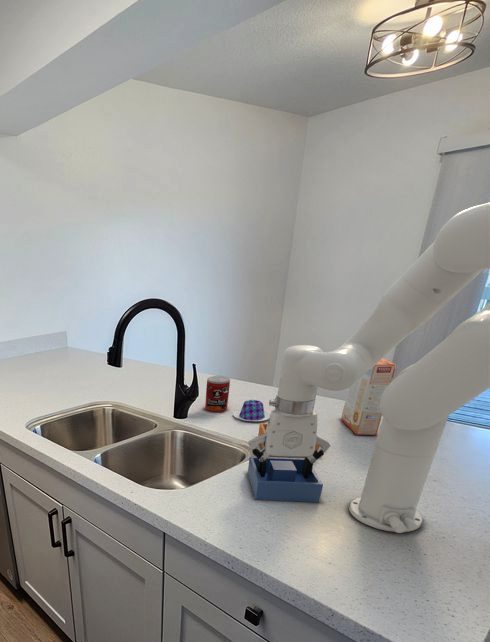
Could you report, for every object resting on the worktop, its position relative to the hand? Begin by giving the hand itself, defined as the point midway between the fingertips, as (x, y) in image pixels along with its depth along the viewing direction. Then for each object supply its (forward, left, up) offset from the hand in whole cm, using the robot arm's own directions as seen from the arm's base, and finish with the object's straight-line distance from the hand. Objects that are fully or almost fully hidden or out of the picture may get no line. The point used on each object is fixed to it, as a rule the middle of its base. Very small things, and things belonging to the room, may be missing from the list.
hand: (283, 475), depth 102 cm
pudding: (+49, 0, -3) cm, 49 cm away
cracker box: (+41, -30, -3) cm, 51 cm away
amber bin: (+24, -6, -3) cm, 25 cm away
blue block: (0, 0, -3) cm, 3 cm away
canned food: (+57, +11, -3) cm, 58 cm away
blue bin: (0, 0, -3) cm, 3 cm away
